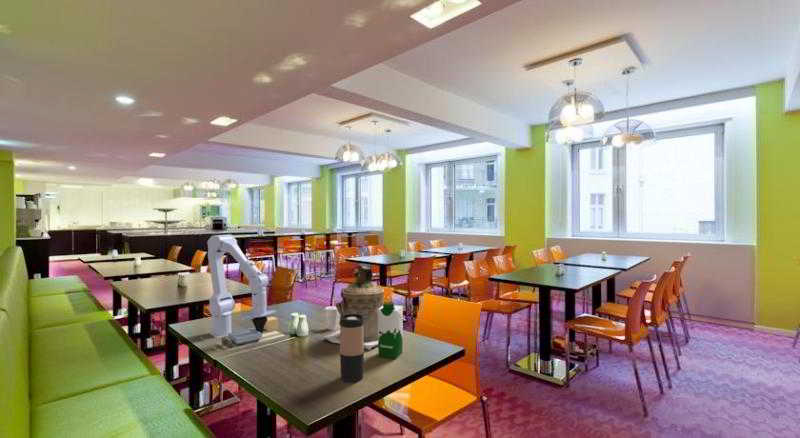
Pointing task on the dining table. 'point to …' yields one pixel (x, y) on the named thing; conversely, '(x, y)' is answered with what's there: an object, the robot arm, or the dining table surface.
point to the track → (266, 337)
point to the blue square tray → (244, 336)
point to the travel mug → (351, 347)
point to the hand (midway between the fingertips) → (259, 334)
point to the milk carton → (390, 330)
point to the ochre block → (271, 323)
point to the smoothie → (332, 316)
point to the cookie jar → (361, 305)
